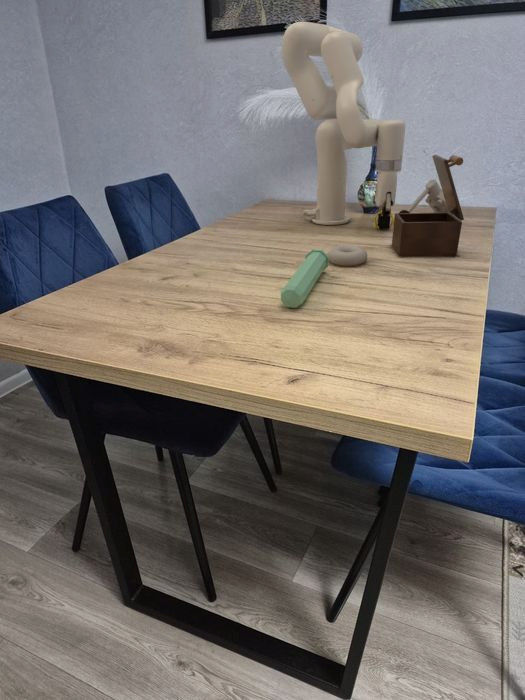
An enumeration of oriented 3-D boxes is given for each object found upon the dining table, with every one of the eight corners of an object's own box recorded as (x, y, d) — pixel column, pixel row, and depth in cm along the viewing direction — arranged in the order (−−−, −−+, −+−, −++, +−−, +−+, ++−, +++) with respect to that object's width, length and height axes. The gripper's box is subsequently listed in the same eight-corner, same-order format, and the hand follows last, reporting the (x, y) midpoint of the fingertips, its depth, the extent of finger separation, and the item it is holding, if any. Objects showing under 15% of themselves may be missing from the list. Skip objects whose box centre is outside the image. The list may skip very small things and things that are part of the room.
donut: (352, 270, 114) (374, 260, 121) (353, 257, 113) (375, 247, 119) (319, 263, 121) (341, 253, 127) (319, 250, 119) (342, 241, 125)
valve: (409, 245, 166) (387, 215, 159) (447, 203, 165) (426, 170, 158) (428, 250, 157) (406, 218, 150) (468, 205, 157) (448, 171, 149)
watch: (372, 229, 149) (374, 210, 147) (374, 227, 152) (375, 208, 149) (391, 230, 147) (393, 211, 144) (393, 228, 149) (395, 209, 147)
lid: (443, 160, 111) (464, 151, 110) (432, 155, 121) (450, 147, 120) (460, 220, 117) (480, 212, 116) (448, 211, 128) (466, 203, 126)
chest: (398, 256, 123) (402, 222, 119) (391, 245, 133) (394, 213, 129) (456, 256, 121) (462, 222, 117) (444, 244, 132) (449, 212, 128)
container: (297, 281, 90) (324, 245, 111) (270, 290, 93) (301, 253, 114) (308, 309, 92) (332, 267, 113) (282, 316, 95) (310, 275, 116)
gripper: (372, 163, 148) (368, 222, 157) (379, 169, 134) (374, 234, 142) (396, 162, 147) (391, 221, 156) (406, 169, 133) (399, 234, 142)
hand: (383, 227), depth 149 cm, fingers closed on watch, 2 cm apart
